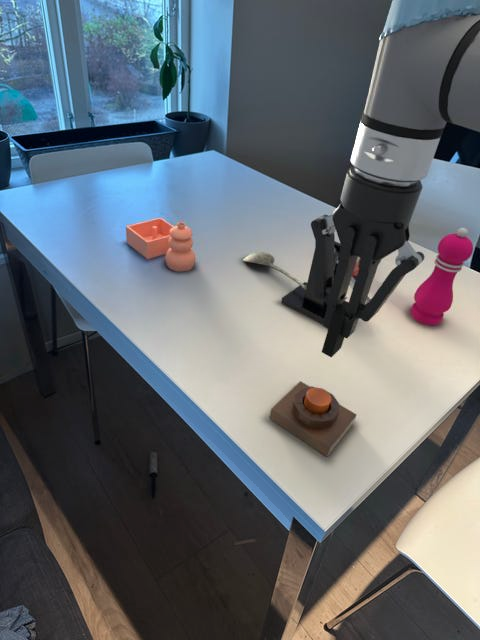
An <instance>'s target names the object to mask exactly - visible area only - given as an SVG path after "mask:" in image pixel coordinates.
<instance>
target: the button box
mask: <svg viewBox="0 0 480 640" xmlns="http://www.w3.org/2000/svg"><path fill="white" fill-rule="evenodd" d="M311 388H318V386H317V387H316V386H311V385H308V384H306V383H304V382H303V381H298V383H296V384H295V385H294V386H293V387H292V388H291V389H290V390H289V391H288V392H287V393H286V394H285V395H284V396H283V397H281V399H280V400H279V401H278V402H277V403H276V404H275V405H273V407H272V408H271V409H270V413H269V420H271V421H272V422H274V423H275V424H277V425H278V426H280V427H281V428H282V429H284V430H286V431H288V432H289V433H290V434H292V435H294V436H295V437H296V438H298V439H300V440H301V441H302V442H304V443H305V444H307V445H309V446H310V447H311V448H313V449H314V450H316V451H317V452H319V453H320V454H321V455H323V456H325V457H329V456H330V454H331V453H332V452H333V450H334V449H335V448H336V446H337V445H338V444H339V442H341V440H342V439H343V437H345V435H346V434H347V433H348V432H349V430H350V429H351V428H352V426H353V425H354V423H355V421H356V418H357V414H356V413H355V412H353V411H351V410H350V409H348V408H347V407H345V406H343V405H341V404H340V403H339V401H338V400H337V398H336V397H335V395H334V394H333V393H331V392H330V391H328V390H326V391H327V392H328V393H329V394H330V396H331V403H330V406H329V409H328V411H327V412H325V413H323V414H315V413H312V412H310V411H309V410H308V409H307V408H306V407H305V405H304V400H305V397H306V393H307V391H308V390H309V389H311ZM320 388H321V389H323V388H322V387H320Z"/></svg>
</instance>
